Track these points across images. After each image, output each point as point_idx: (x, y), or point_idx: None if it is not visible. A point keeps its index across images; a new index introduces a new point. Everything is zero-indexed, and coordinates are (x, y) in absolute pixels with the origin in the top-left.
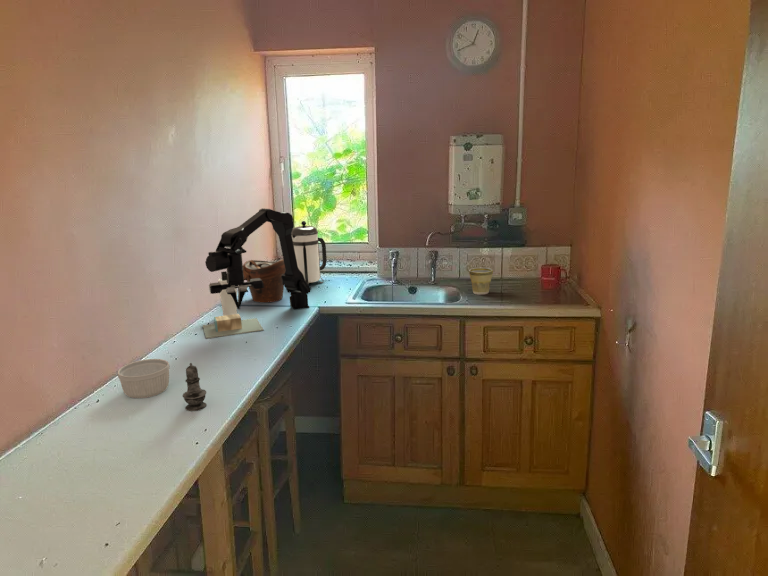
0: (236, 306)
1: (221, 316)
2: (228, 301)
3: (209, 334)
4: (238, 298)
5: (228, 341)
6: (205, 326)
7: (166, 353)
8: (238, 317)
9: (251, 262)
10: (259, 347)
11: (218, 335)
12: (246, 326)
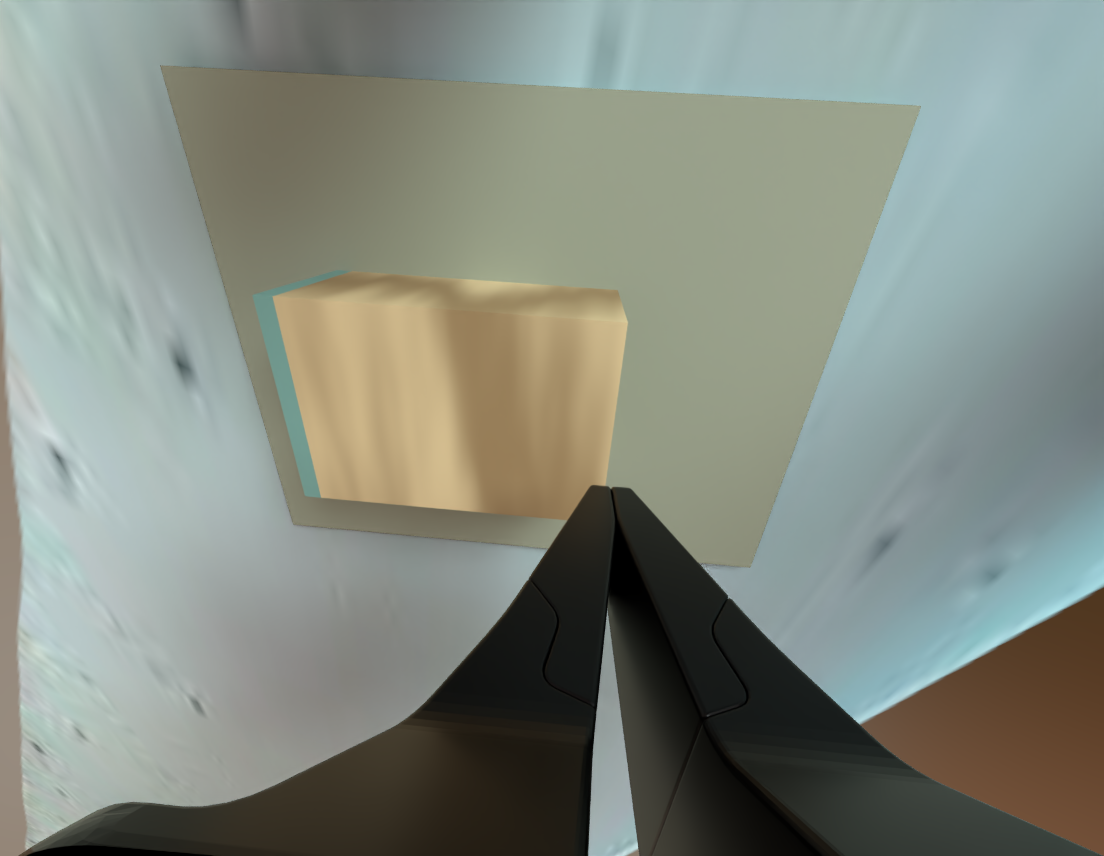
0: (579, 510)
1: (365, 330)
2: None
3: None
4: (644, 679)
5: (455, 630)
6: (214, 156)
7: (110, 631)
8: (577, 494)
9: None
10: (600, 761)
11: (385, 525)
12: (654, 416)
